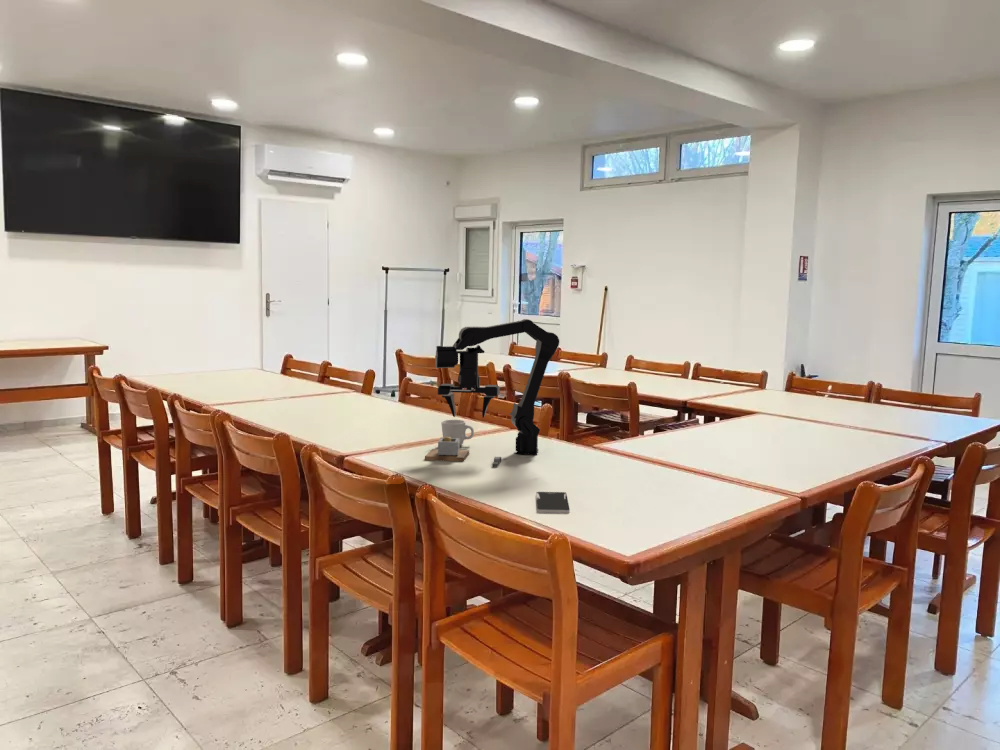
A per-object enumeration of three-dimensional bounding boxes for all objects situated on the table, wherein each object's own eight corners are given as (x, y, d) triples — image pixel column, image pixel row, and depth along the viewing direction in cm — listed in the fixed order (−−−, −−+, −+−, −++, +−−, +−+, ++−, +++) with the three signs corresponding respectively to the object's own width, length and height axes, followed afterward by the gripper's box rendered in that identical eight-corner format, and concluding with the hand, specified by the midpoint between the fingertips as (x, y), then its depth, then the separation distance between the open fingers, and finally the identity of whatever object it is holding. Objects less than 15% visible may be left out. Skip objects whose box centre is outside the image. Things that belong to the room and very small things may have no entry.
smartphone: (537, 509, 172) (536, 491, 187) (537, 515, 172) (536, 496, 187) (569, 510, 172) (566, 491, 187) (569, 515, 172) (565, 496, 187)
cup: (475, 443, 247) (475, 420, 246) (472, 448, 239) (472, 424, 238) (443, 442, 248) (443, 419, 247) (439, 447, 240) (439, 423, 239)
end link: (459, 450, 229) (459, 438, 228) (457, 455, 223) (457, 442, 222) (440, 450, 229) (440, 437, 228) (438, 454, 223) (438, 441, 223)
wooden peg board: (469, 454, 231) (469, 434, 230) (463, 461, 221) (463, 441, 221) (432, 452, 233) (432, 433, 232) (424, 460, 223) (424, 440, 222)
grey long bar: (501, 460, 223) (501, 454, 223) (497, 467, 215) (497, 461, 214) (496, 459, 224) (496, 454, 223) (492, 467, 215) (492, 461, 215)
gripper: (502, 365, 234) (501, 413, 236) (444, 364, 236) (444, 412, 238) (497, 369, 223) (497, 419, 225) (437, 368, 225) (437, 418, 227)
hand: (468, 417), depth 229 cm, fingers open, 9 cm apart
